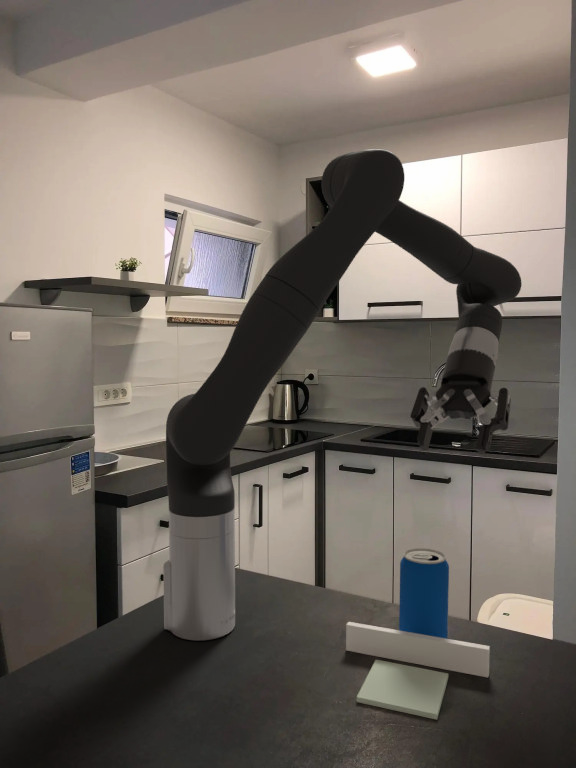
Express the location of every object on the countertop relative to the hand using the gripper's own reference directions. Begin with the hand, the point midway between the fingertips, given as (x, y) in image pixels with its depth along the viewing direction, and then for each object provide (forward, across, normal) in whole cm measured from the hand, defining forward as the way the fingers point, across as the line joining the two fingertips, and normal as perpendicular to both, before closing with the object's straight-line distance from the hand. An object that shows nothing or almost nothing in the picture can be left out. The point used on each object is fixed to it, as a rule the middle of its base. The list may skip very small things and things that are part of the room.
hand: (451, 449), depth 92 cm
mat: (+34, +1, -1) cm, 34 cm away
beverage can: (+26, -1, +9) cm, 27 cm away
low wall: (+29, 0, +4) cm, 29 cm away
